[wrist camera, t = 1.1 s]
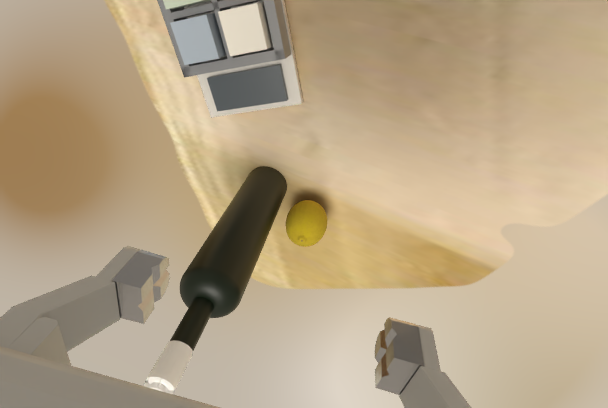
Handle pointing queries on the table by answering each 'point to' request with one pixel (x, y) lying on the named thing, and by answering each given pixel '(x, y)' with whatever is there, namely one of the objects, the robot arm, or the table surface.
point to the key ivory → (245, 29)
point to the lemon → (306, 223)
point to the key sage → (180, 3)
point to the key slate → (198, 39)
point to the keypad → (243, 63)
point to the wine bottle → (221, 270)
